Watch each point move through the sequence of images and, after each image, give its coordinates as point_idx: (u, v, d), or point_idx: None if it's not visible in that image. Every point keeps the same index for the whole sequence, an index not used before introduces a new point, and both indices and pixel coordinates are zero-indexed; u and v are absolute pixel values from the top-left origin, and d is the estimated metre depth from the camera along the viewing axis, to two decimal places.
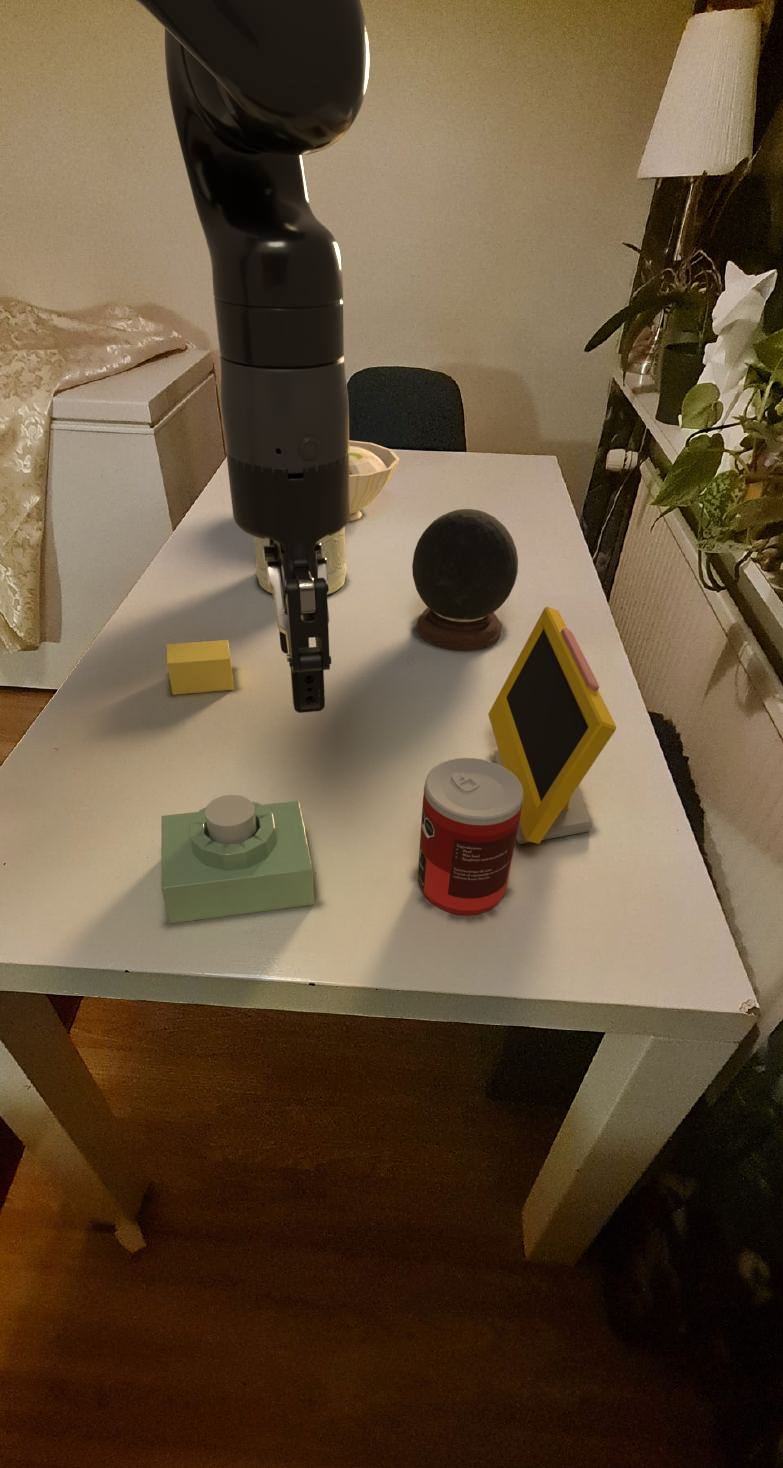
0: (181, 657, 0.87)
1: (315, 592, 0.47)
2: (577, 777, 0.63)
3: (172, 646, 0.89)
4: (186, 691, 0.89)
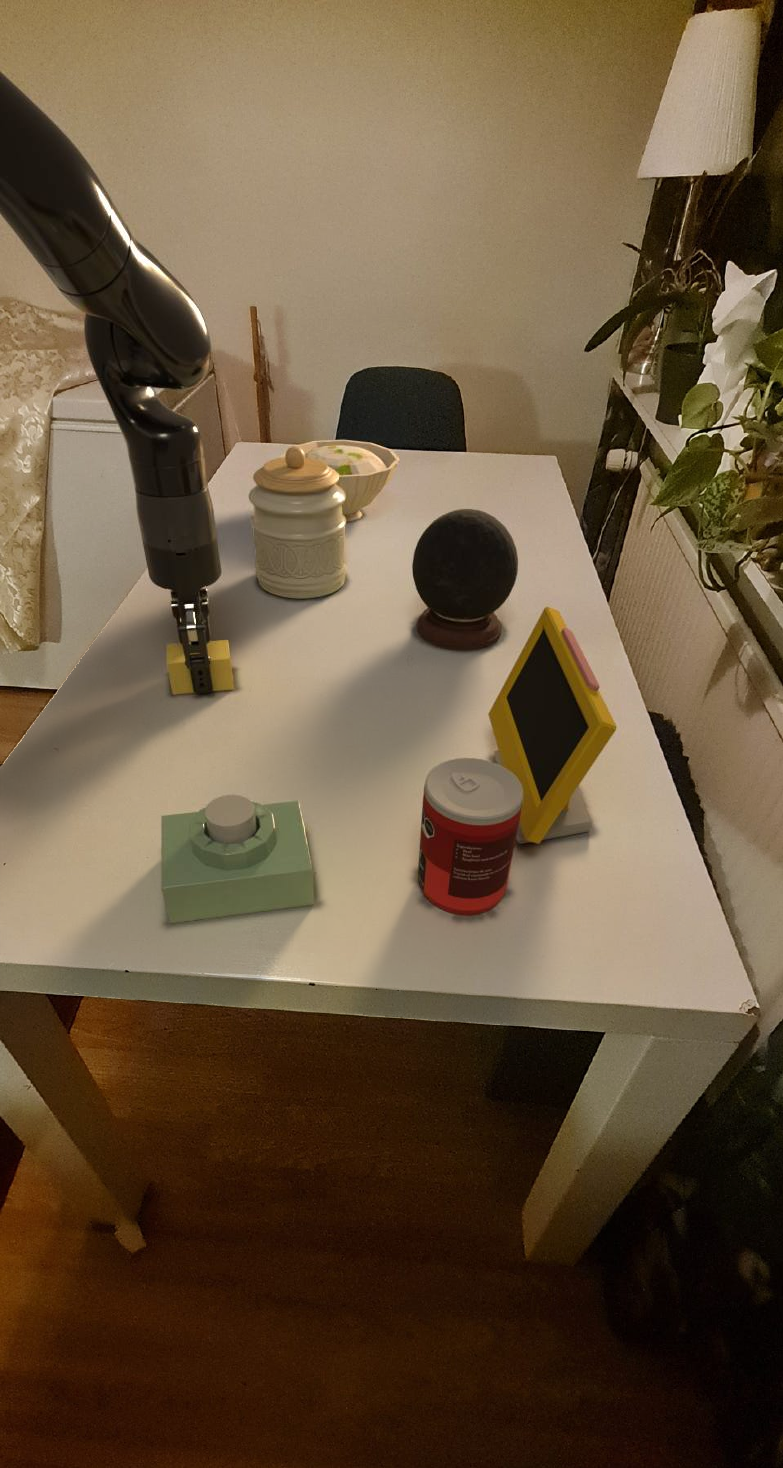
0: (182, 657, 0.87)
1: (197, 632, 0.79)
2: (577, 777, 0.63)
3: (172, 646, 0.89)
4: (186, 691, 0.89)
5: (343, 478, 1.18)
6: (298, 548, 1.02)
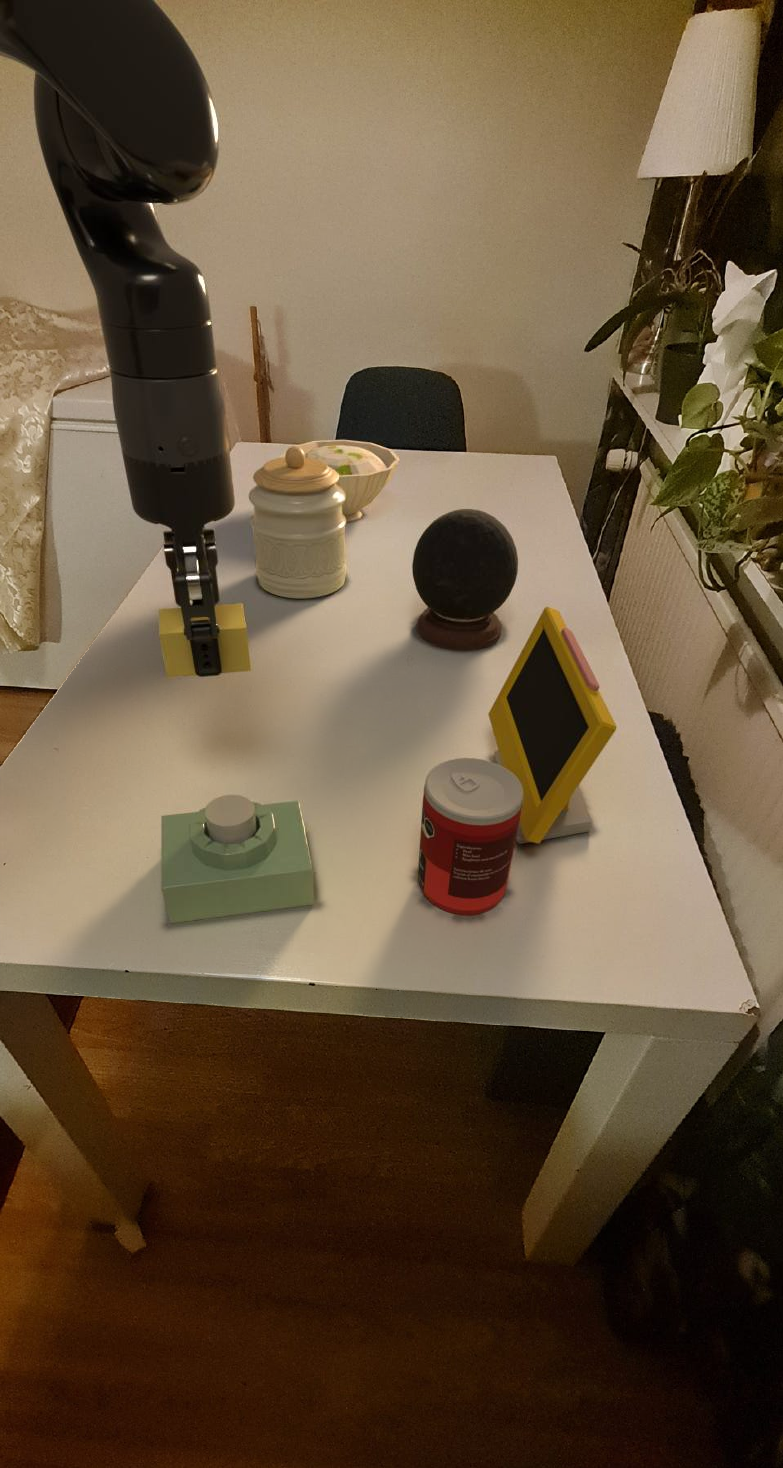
0: (179, 625, 0.63)
1: (201, 586, 0.56)
2: (577, 777, 0.63)
3: (166, 611, 0.65)
4: (186, 673, 0.65)
5: (343, 478, 1.18)
6: (298, 548, 1.02)
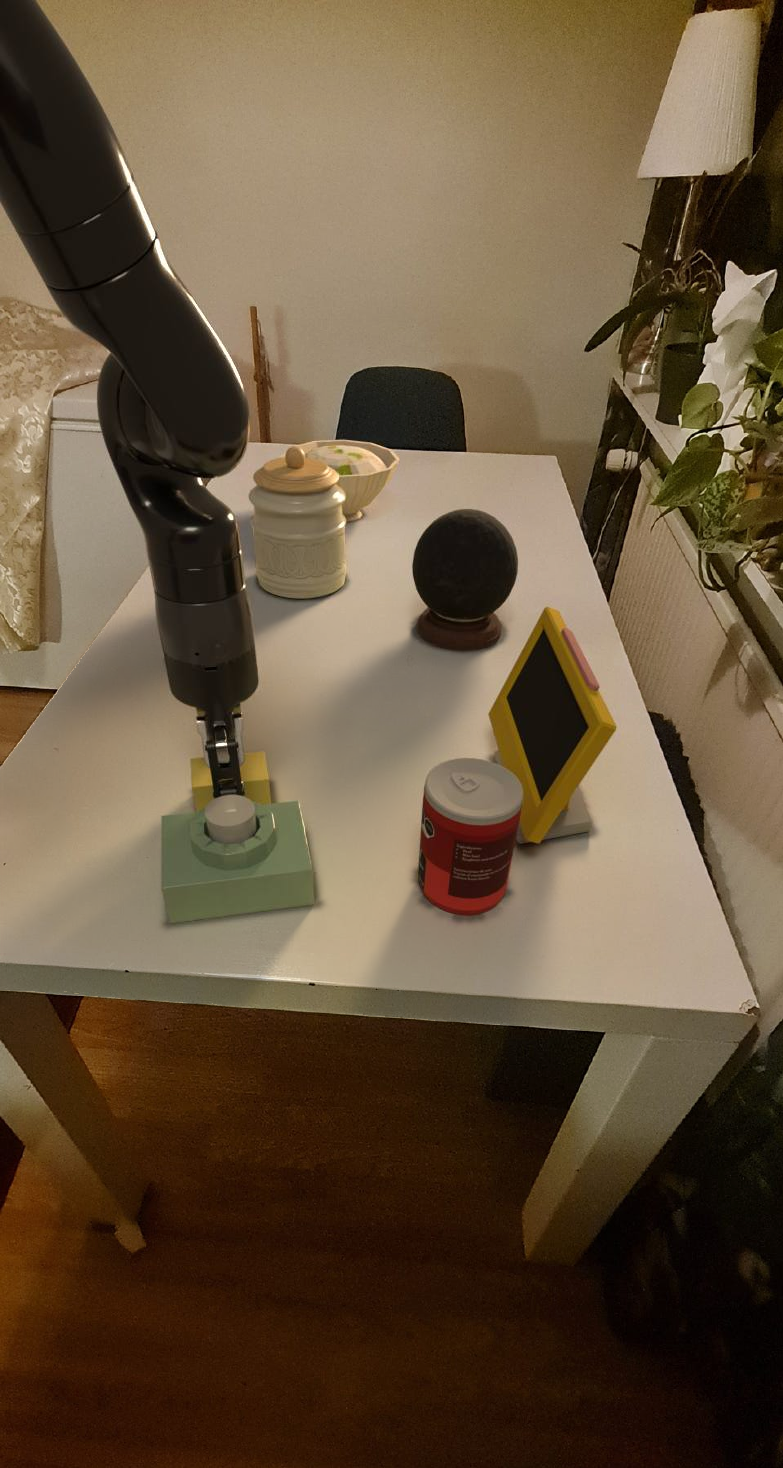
0: (209, 778, 0.71)
1: (228, 750, 0.63)
2: (577, 777, 0.63)
3: (197, 761, 0.73)
4: None
5: (343, 478, 1.18)
6: (298, 548, 1.02)
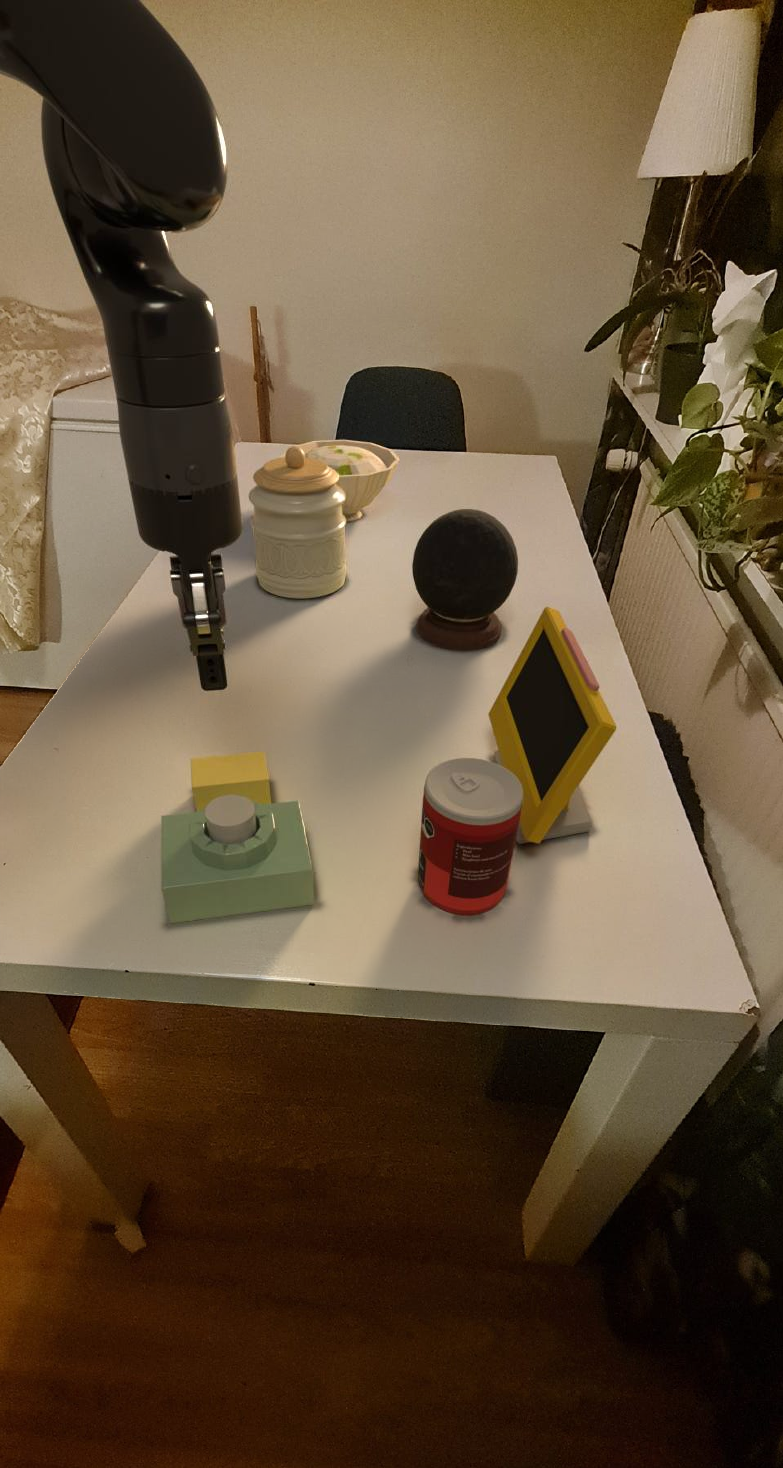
0: (209, 778, 0.71)
1: (210, 626, 0.56)
2: (577, 777, 0.63)
3: (197, 761, 0.73)
4: None
5: (343, 478, 1.18)
6: (298, 548, 1.02)
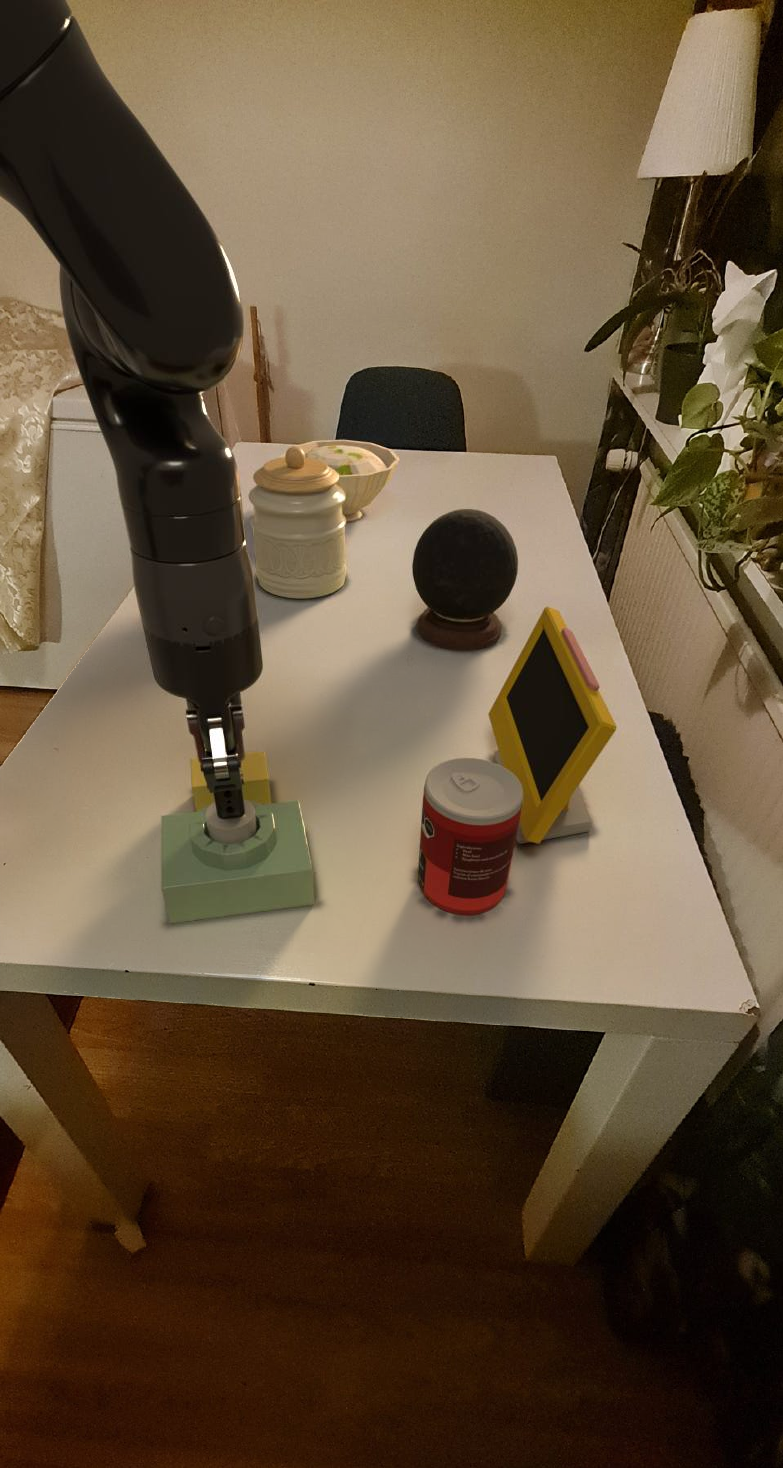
0: None
1: (229, 773, 0.53)
2: (577, 777, 0.63)
3: (197, 761, 0.73)
4: None
5: (343, 478, 1.18)
6: (298, 548, 1.02)
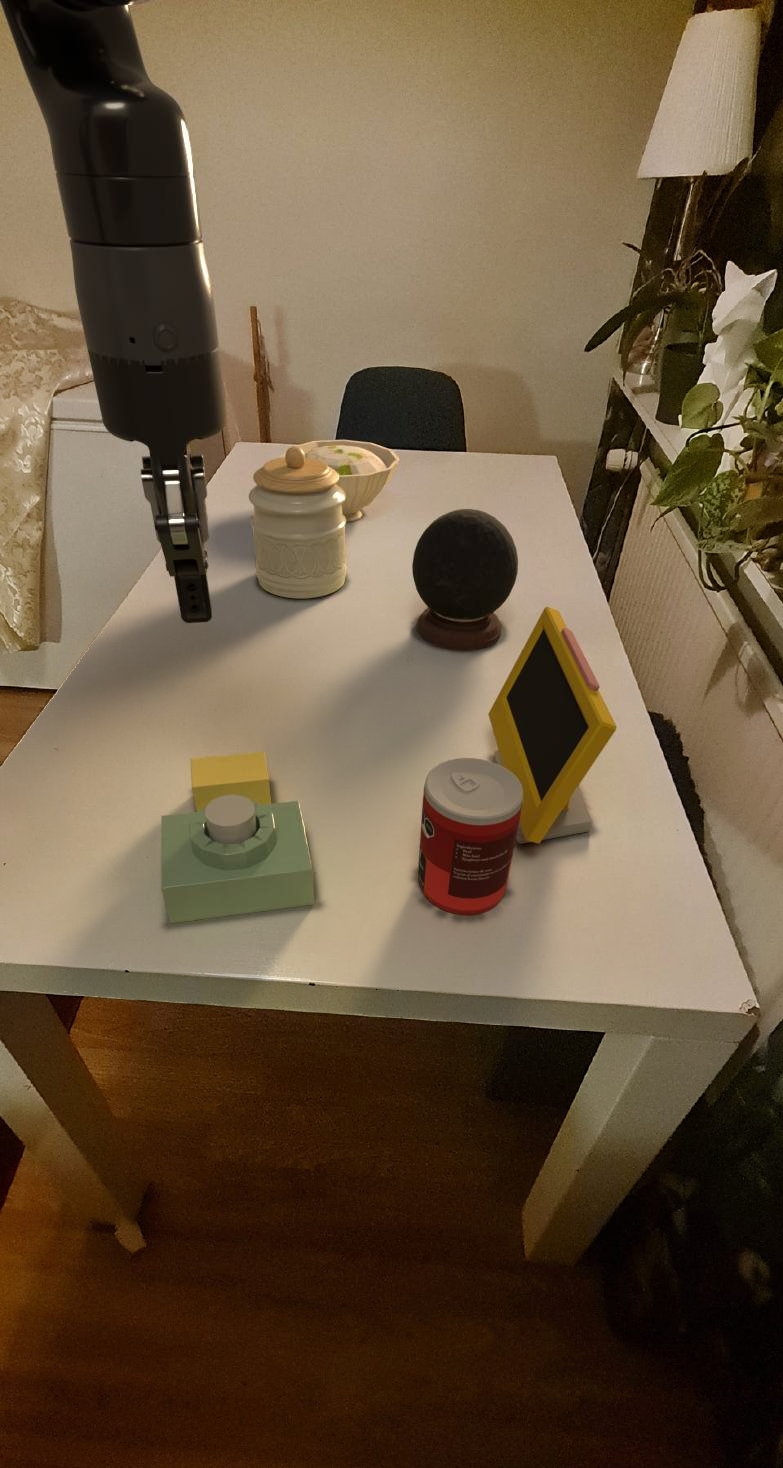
0: (209, 778, 0.71)
1: (186, 533, 0.47)
2: (577, 777, 0.63)
3: (197, 761, 0.73)
4: None
5: (343, 478, 1.18)
6: (298, 548, 1.02)
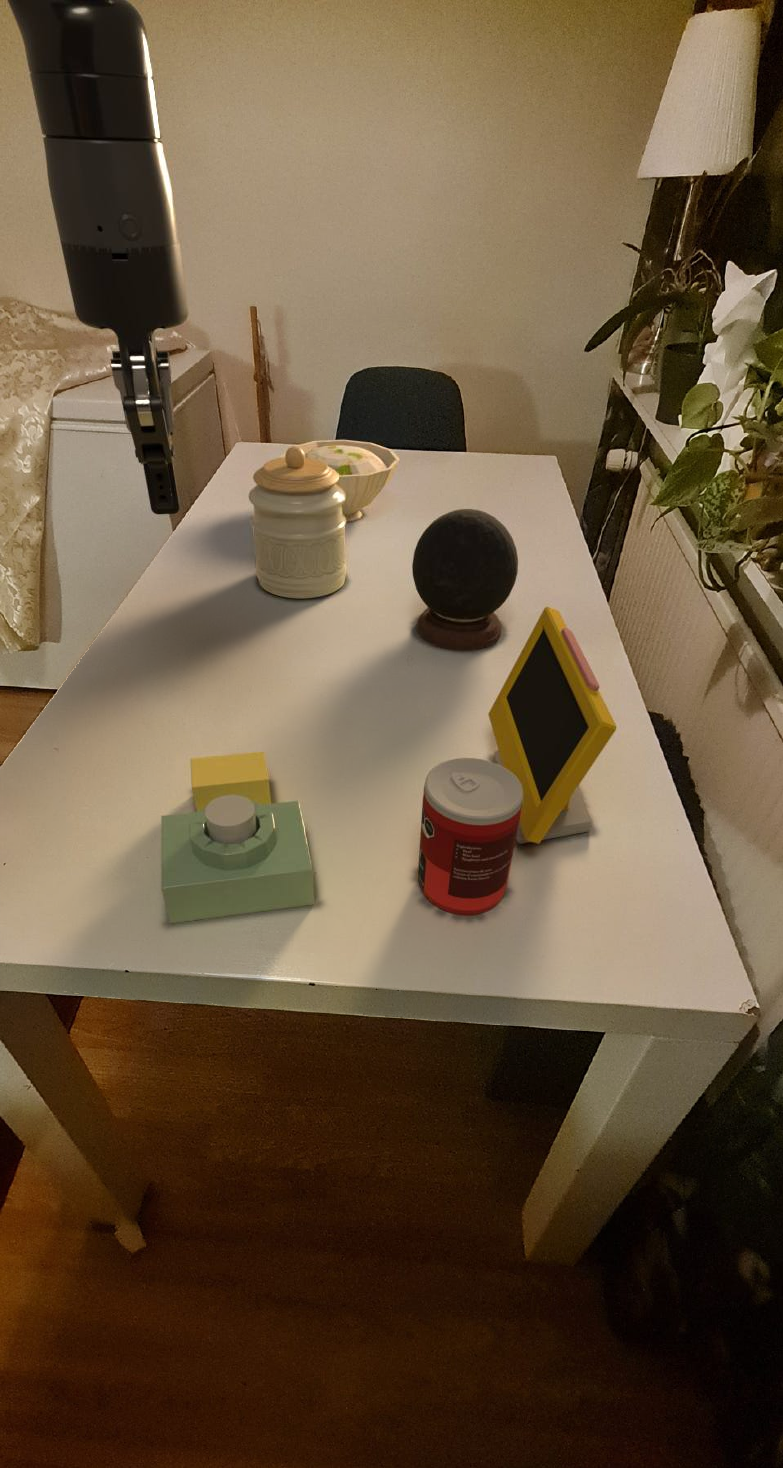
0: (209, 778, 0.71)
1: (152, 414, 0.52)
2: (577, 777, 0.63)
3: (197, 761, 0.73)
4: None
5: (343, 478, 1.18)
6: (298, 548, 1.02)
